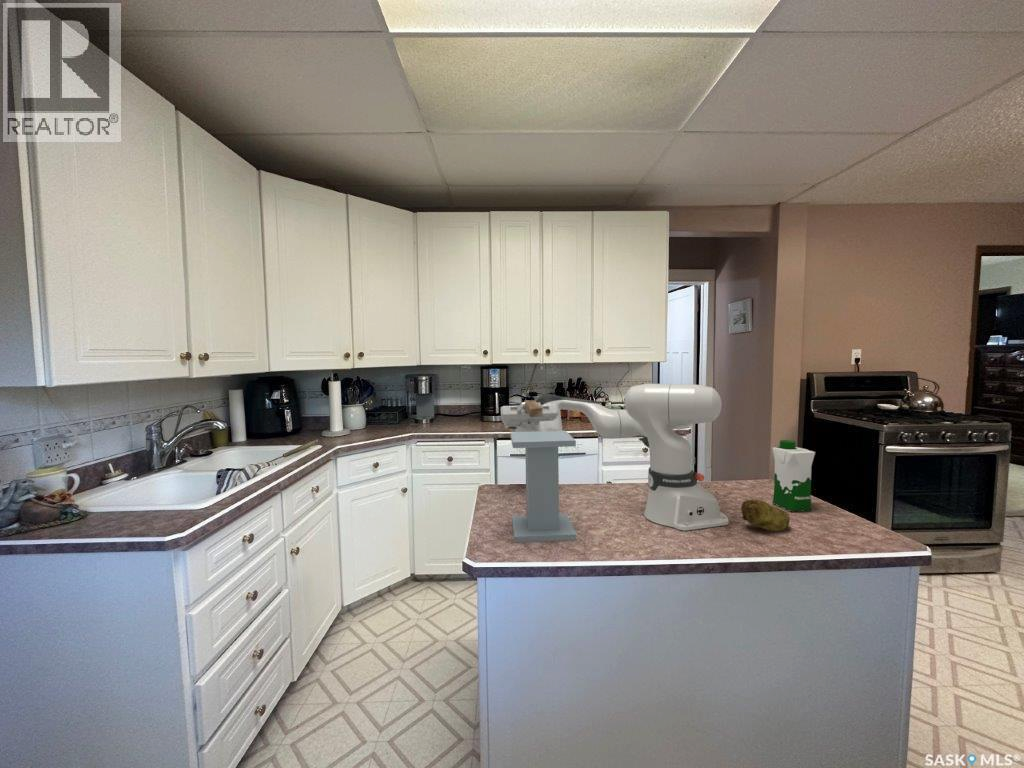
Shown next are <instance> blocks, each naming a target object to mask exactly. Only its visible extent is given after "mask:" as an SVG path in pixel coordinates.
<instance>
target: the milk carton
mask: <svg viewBox="0 0 1024 768" xmlns="http://www.w3.org/2000/svg"><path fill="white" fill-rule="evenodd" d="M772 453H773V459H774V460H773V461H774V480H773V481H774V484H773V486H774V487H773V495H772V496H773V497H772V504H773V503H775V504H777V505H779V506H781V507H783V508H785V509H787V510H790V511H801V512H803V511H802V510H812V511H813V508H812V507H813V506H812V497H811V496H812V494H811V493H812V492H811V491H812V489H811V488H812V466H813V462H814V458H815V455H816V451H813V450H809V449H807V448H803V447H797V446H796V441H794V440H787V439H781V440H780V441H779V446H775V447H772ZM781 507H780V508H781ZM783 508H782V509H783ZM785 509H784V510H785ZM787 510H786V511H787ZM790 511H789V512H790Z"/></svg>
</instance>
